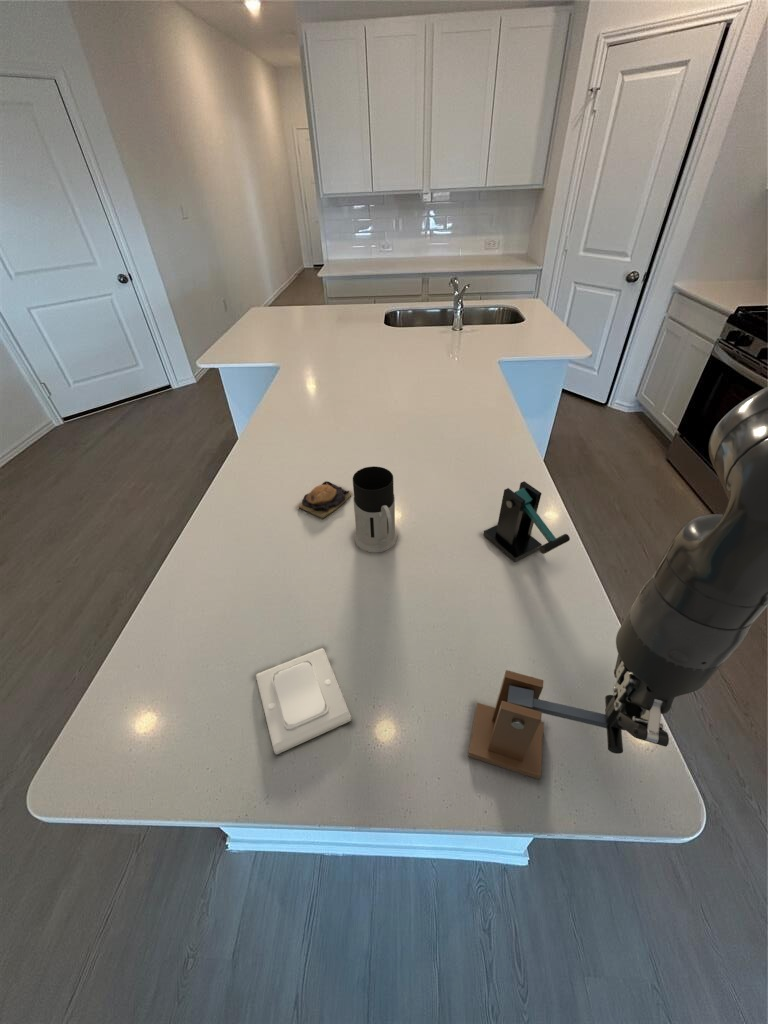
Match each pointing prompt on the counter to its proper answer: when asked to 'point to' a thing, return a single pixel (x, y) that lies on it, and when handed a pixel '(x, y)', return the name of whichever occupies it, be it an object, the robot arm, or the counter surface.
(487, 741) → the near bracket
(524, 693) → the near lever
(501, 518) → the far bracket
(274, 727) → the light switch
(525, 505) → the far lever
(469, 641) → the counter surface
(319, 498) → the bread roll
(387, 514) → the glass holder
